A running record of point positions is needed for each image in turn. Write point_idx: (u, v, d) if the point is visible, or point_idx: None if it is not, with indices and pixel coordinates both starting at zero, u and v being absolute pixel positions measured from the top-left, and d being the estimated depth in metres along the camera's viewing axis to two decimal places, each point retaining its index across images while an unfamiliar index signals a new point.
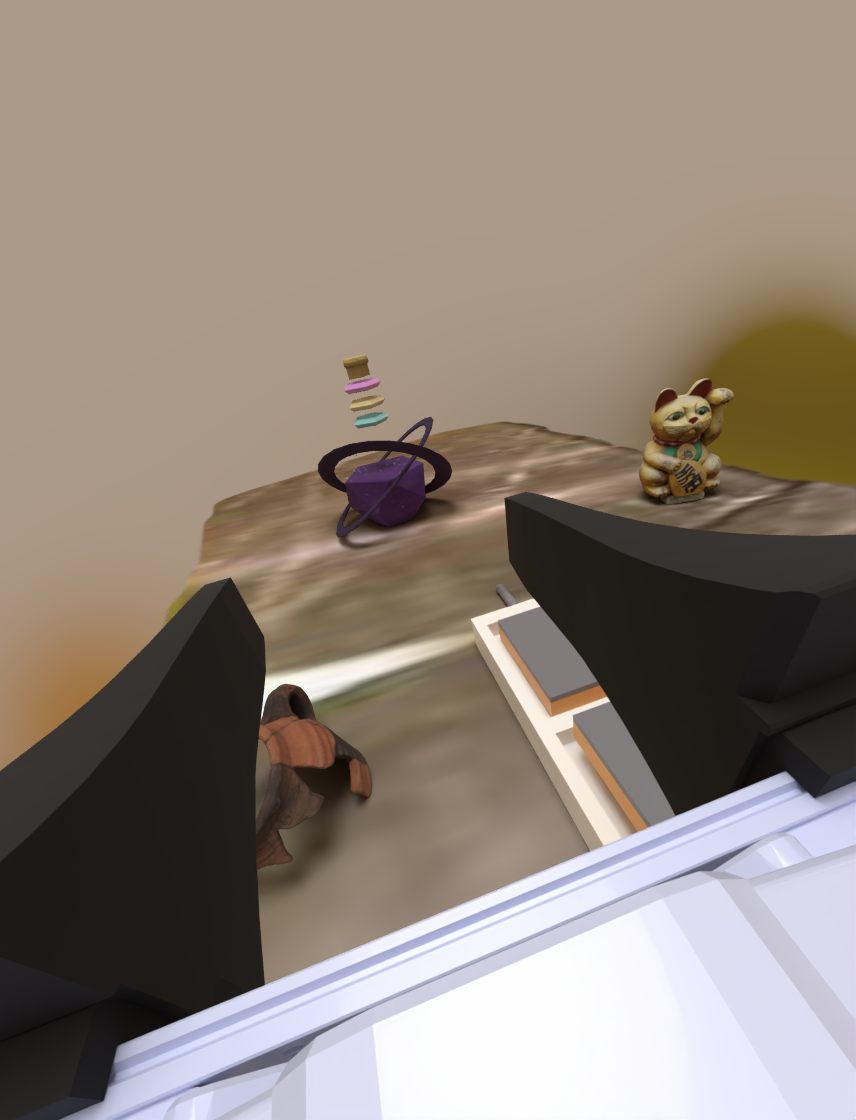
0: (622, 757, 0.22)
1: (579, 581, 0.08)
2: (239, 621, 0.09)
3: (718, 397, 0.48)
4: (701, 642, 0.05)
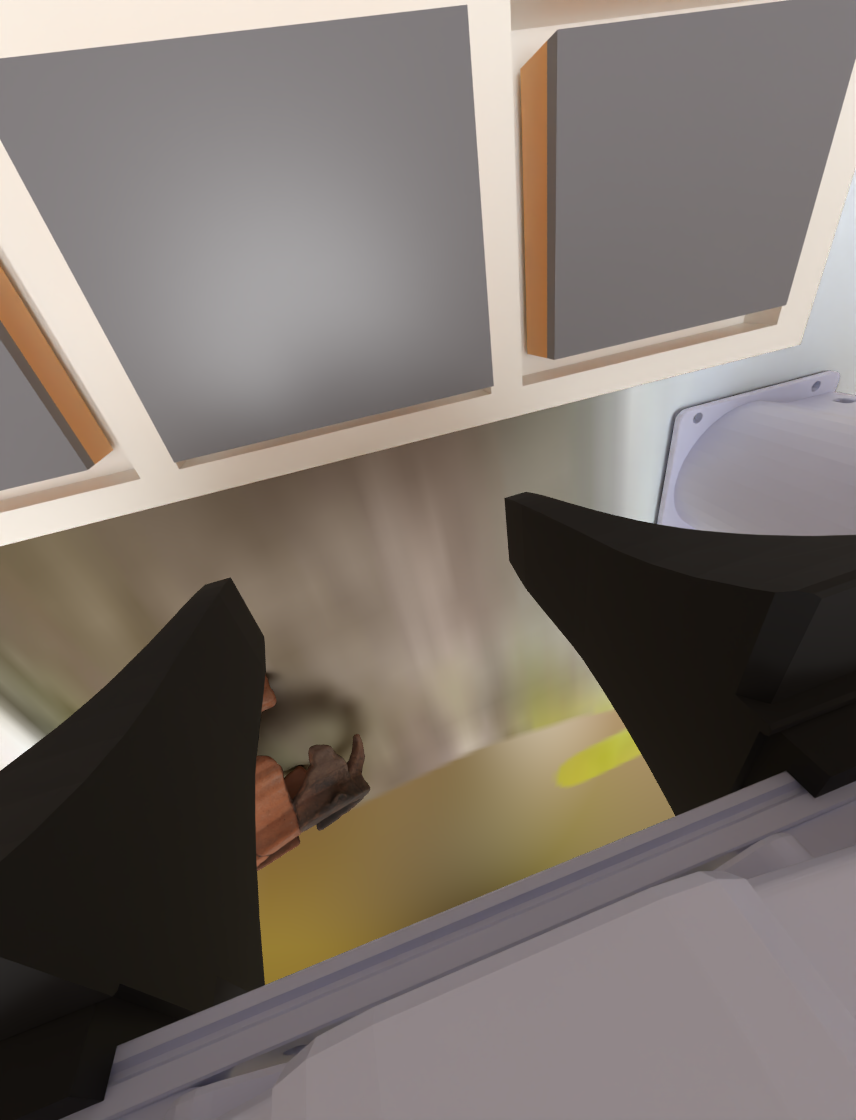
0: (285, 399, 0.11)
1: (579, 581, 0.08)
2: (239, 621, 0.09)
3: None
4: (701, 642, 0.05)
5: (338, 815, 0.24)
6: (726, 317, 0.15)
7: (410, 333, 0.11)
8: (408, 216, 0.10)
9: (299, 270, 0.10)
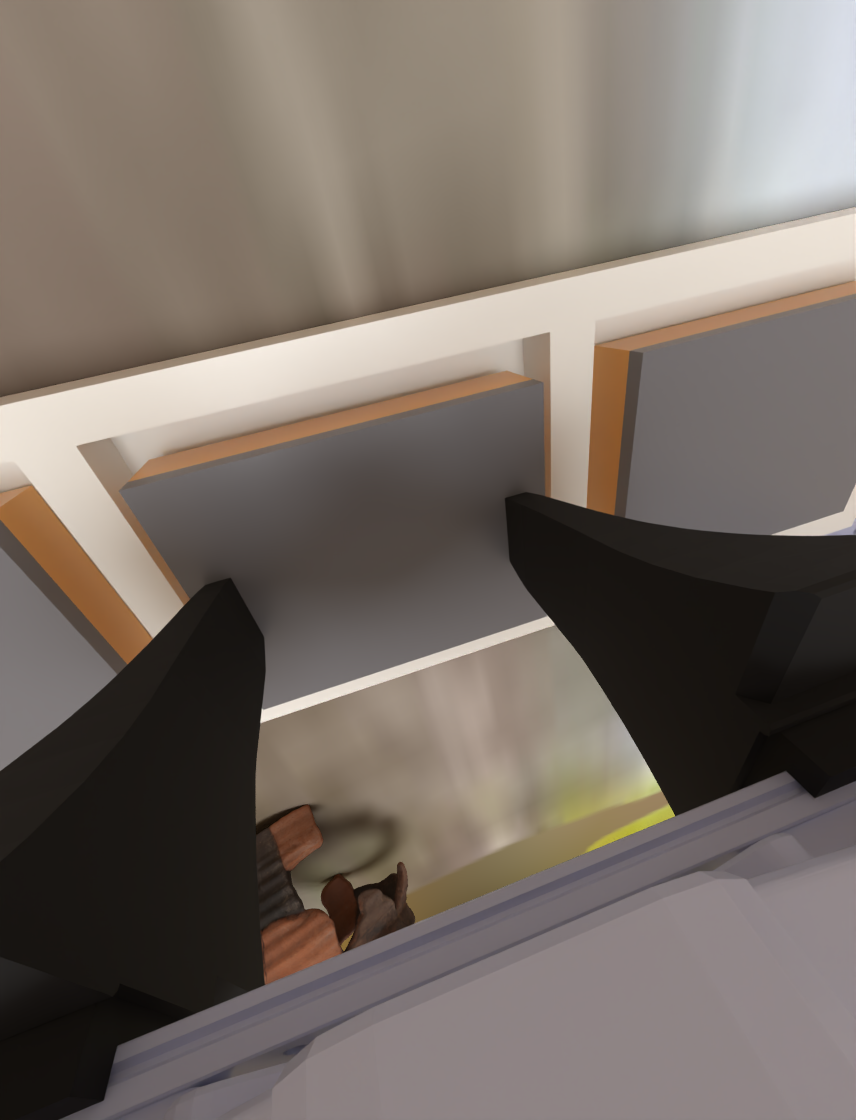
0: (363, 654, 0.12)
1: (578, 581, 0.08)
2: (239, 621, 0.09)
3: None
4: (701, 642, 0.05)
5: None
6: (785, 529, 0.15)
7: (476, 594, 0.12)
8: (481, 520, 0.11)
9: (384, 569, 0.11)
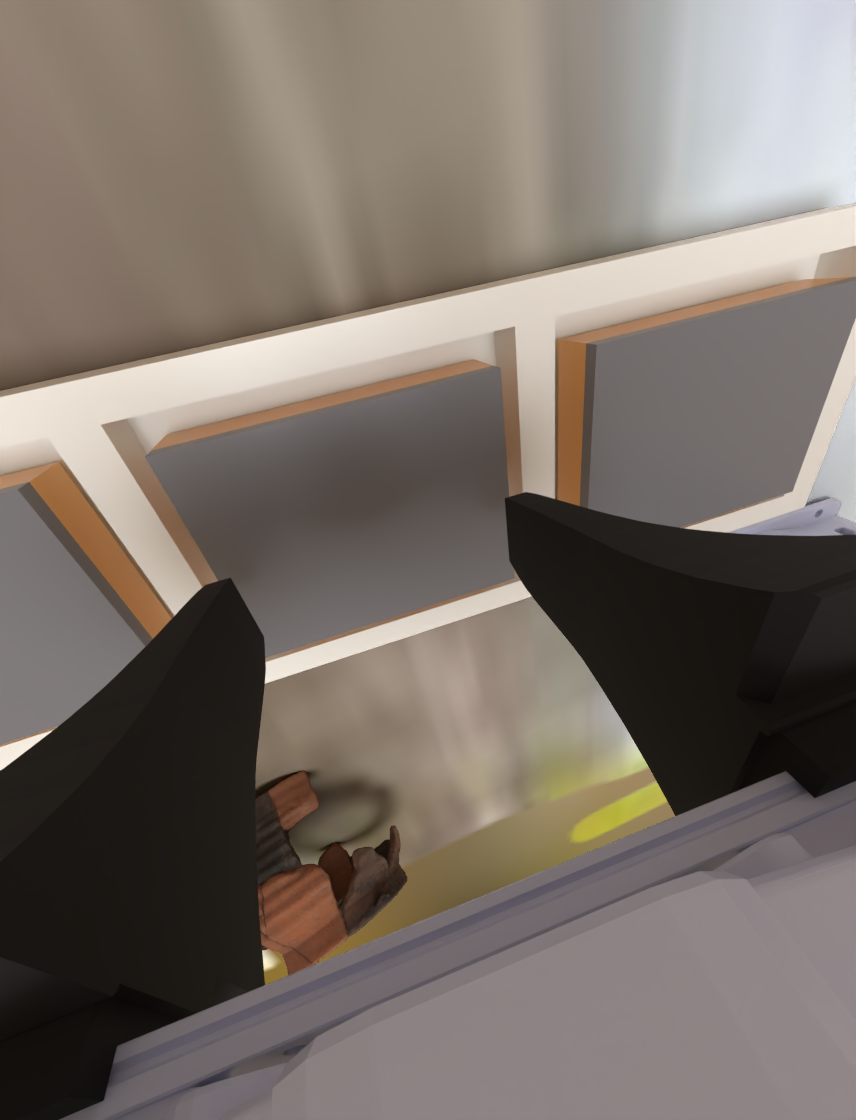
0: (351, 608, 0.14)
1: (578, 581, 0.08)
2: (239, 621, 0.09)
3: None
4: (701, 642, 0.05)
5: None
6: (738, 507, 0.16)
7: (450, 556, 0.14)
8: (452, 488, 0.12)
9: (368, 531, 0.12)
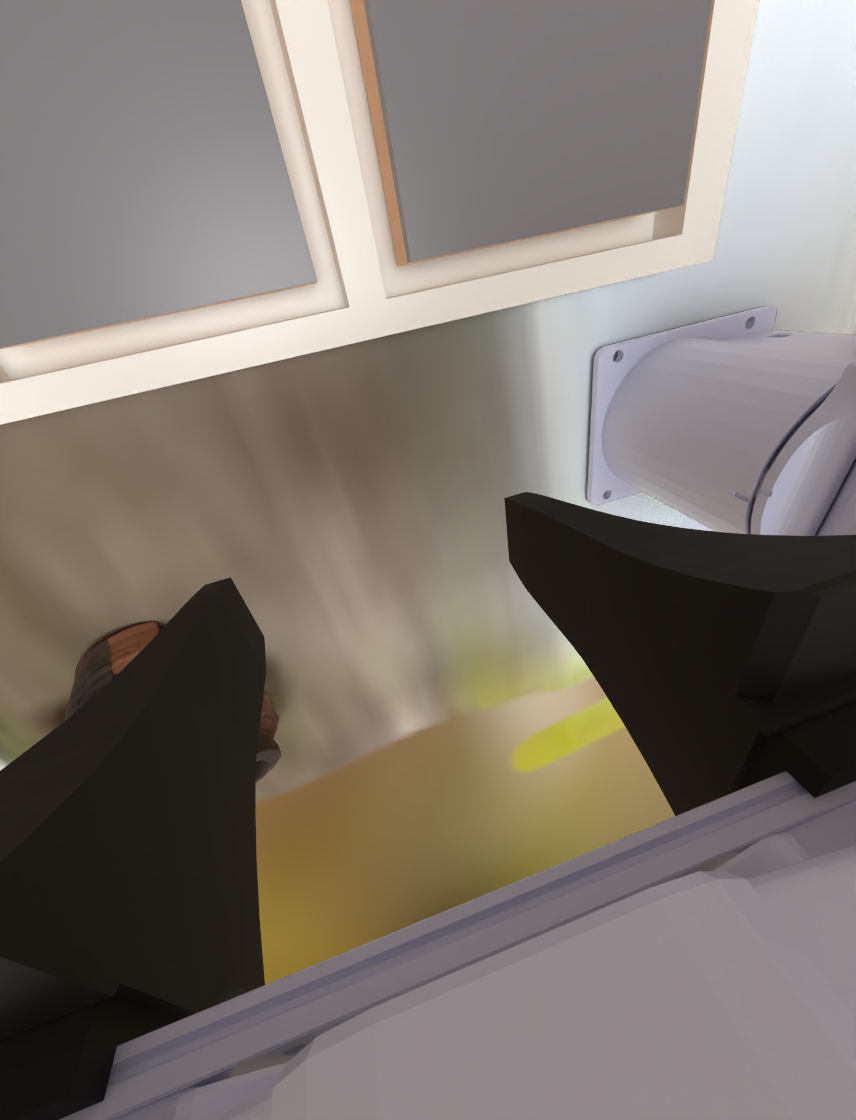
0: (83, 286, 0.11)
1: (578, 581, 0.08)
2: (239, 621, 0.09)
3: None
4: (701, 642, 0.05)
5: None
6: (613, 217, 0.13)
7: (210, 216, 0.11)
8: (179, 78, 0.09)
9: (67, 136, 0.09)
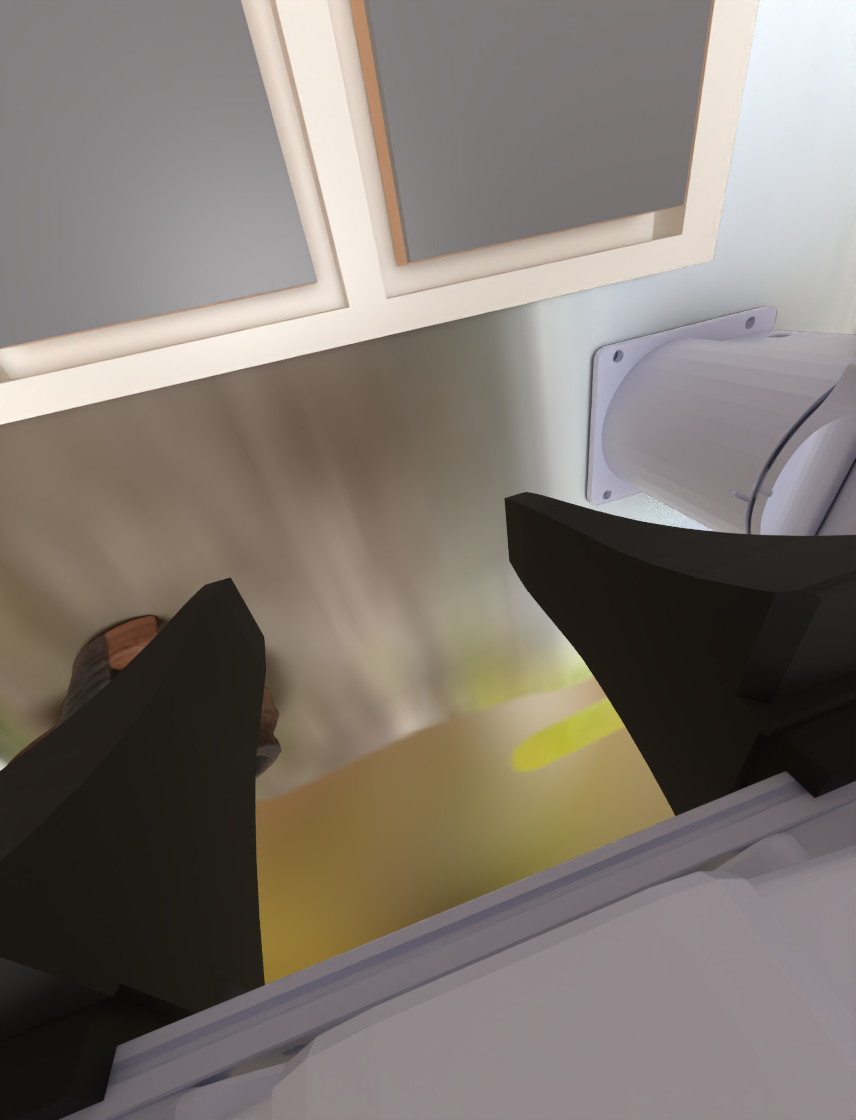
0: (83, 286, 0.11)
1: (578, 581, 0.08)
2: (239, 621, 0.09)
3: None
4: (701, 642, 0.05)
5: None
6: (613, 217, 0.13)
7: (210, 216, 0.11)
8: (179, 78, 0.09)
9: (67, 136, 0.09)
